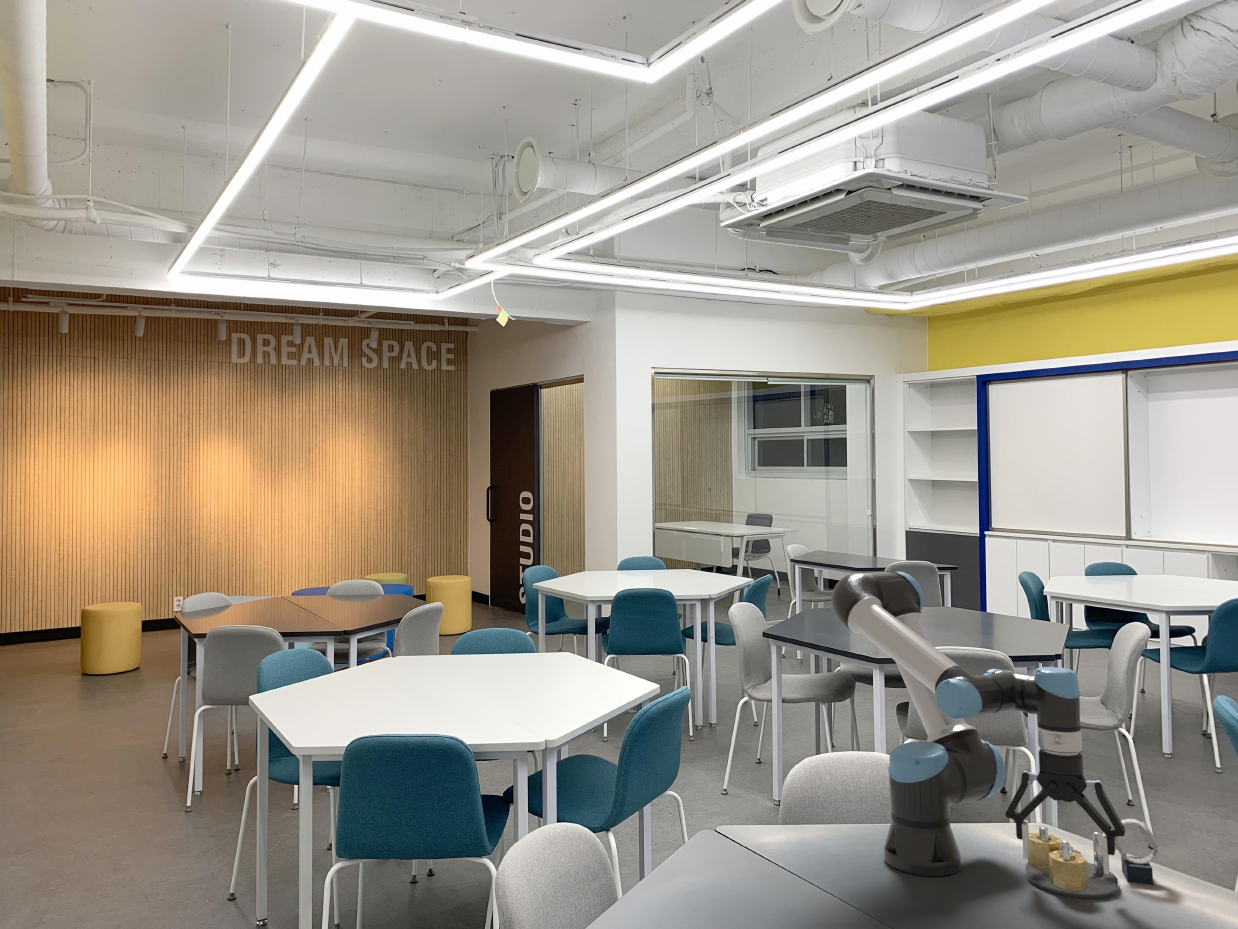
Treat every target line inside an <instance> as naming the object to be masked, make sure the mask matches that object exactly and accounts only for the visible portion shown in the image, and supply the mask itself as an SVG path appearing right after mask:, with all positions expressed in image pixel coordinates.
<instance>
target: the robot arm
mask: <svg viewBox="0 0 1238 929" xmlns="http://www.w3.org/2000/svg"><path fill="white" fill-rule="evenodd" d="M923 601H924V592H923V590H922V588H921V585H920V583H918V581H917V580H916V579H915V578H914V577H913V576H912V575H910V574H908V573H906V572H903V571H896V570H895V571H893V570H884V571H873V572H853V573H850V574H847V575H845V576H843V577H842V578H840V579H839V581H837V582H836V584H835V586H834V587H833V590H832V594H831V605H832V610H833V611H834V612H833V613H834V614H835V616H836V617H837V618H838V620H839V622H840V623H841V624H842V625H843V626H845V627H846V628H847V629H848V630H850V631H851V632H852V633H854V634H857V635H863V636H864V637H865V638H867V640H869V641H870V642H871V643H873V644H874V645H875V647H877V648H879V649H880V650H881V651H882V652H884V653H885V654H886V655H887V656H889V657H890V658H891V659H892V660H893V661H894V662H895V664H896V666H897V668H898V671H899V673H900V675H901V677H902V680H903V682H904V684H905V687H906V688H907V691H908V693H909V695H910V698H911V700H912V702H913V705H914V707H915V709H916V712H917V714H918V716H919V718H920V721H921V722H922V725H923V728H924V730H925V733H926V735H927V738H926V740H925V741H922V740H921V741H918V742H916V741H909V742H905V743H902V744H899V745H897V746H895V747H894V748H892V750H891V751H890V753H889V761H888V762H889V765H888V776H889V777H888V778H889V780H888V781H889V794H890V797H889V798H890V816H891V817H890V818H891V819H890V820H891V821H890V825H889V828H888V831H887V832H888V833H887V834H886V838H885V841H884V845H883V859H884V861H885V862H886V864H887V865H888V866H890V867H892V868H894V869H896V870H898V871H901V872H904V873H907V874H911V875H916V876H922V877H923V876H924V877H943V876H949V875H953V874H956V873H958V872H959V871H960V870H961V869H962V858H961V857H962V856H961V855H962V854H961V852H960V849H959V846H958V844H957V841H956V838H955V834H954V832H953V830H952V828H951V812H950V808H951V806H955V805H960V804H964V803H968V802H973V801H982V800H984V799H986V798H989V797H992V796H994V795H996V794H998V793H999V791H1000V790H1001V789H1002V787H1003V785H1004V780H1005V778H1006V768H1005V766H1006V765H1005V763H1004V759H1003V757H1002V754H1001V752H1000V751H999V750H998V748H997V747H996V746H995V745H994V744H991V742H989V741H987V740H984V739H982V738H981V737H980V734H979V732H978V730H977V728H976V727H975V726H972V725H970V724H967V723H966V721H965V719H972V718H974V717H979V716H984V715H985V716H986V715H991V714H999V713H1004V712H1005V713H1006V712H1011V711H1018V712H1023V713H1028V714H1032V715H1036V722H1037V725H1036V726H1037V744H1038V745H1037V746H1038V747H1039V748H1040V749H1039V750H1038V764H1039V765H1038V766H1039V767H1038V768H1039V772H1038V773H1035V772H1030V770H1028V769H1024V770H1023V771H1022V773H1021V779H1020V784H1019V786H1018V788H1017V790H1016V793H1015V795H1014V796H1013V798H1012V800H1011V802H1010V804H1009V806H1008V807H1007V809H1006V812H1004V816H1005V817H1006V818H1007V819H1012V821H1013V820H1014V822H1015V830H1016V831H1015V832H1016V833H1015V835H1016V839H1018V840H1022V856H1023V858H1022V859H1024V860H1028V857H1029V855H1030V852H1029V832H1030V831H1029V820H1025V819H1026V818H1027V817H1029V815H1030V814H1031V813H1033V811H1035V809H1036V808H1037V807H1039V805H1041V804H1042V802H1044V801H1045V800H1046V799H1047V798H1048V797H1049V798H1050V799H1052V801H1063V802H1065V803H1070V804H1071V803H1072V802H1076V804H1077V805H1078V806H1079V807H1081V808H1082V809H1083V810H1084V812H1086V813H1085V814H1087V815H1088V816H1089V818H1090V819H1091V820H1092V821H1093V822H1094V823H1095V825H1096V826H1098V827H1099V829H1100V830H1101V831H1102V832H1103V833H1102V834H1101V835H1102V847H1103V866H1104V874H1109V871H1110V857H1109V856H1114V855H1115V854H1116V846H1115V837H1117V838H1118V837H1124V836H1125V835H1126V834H1125V833H1126V827H1125V825H1124V826H1123V824H1122V822H1121V820H1122V819H1120V817H1119V815H1118V814H1117V812H1116V810H1115V808H1114V807H1113V805H1112V803H1111V801H1110V799H1109V797H1108V796H1107V794H1106V792H1105V787H1104V783H1103V780H1102V779H1098V778H1097V779H1096V780H1086V779H1085V776H1084V759H1083V754H1082V753H1081V751H1083V737H1082V736H1083V735H1082V728H1081V712H1080V711H1081V707H1080V706H1081V704H1080V702H1081V701H1080V700H1081V698H1080V697H1081V692H1080V686H1079V680H1078V679H1079V678H1078V675H1077V673H1076V672H1075V670H1072V669H1069V668H1065V667H1056V666H1043V667H1038V668H1036V669H1035V671H1034V675H1033V674H1028V673H1023V672H1018V671H1012V670H1010V669H1006V668H1004V669H999V668H991V669H988V670H986V672H985V673H984V674H981V675H972V674H971V673H970V672H968V671H967V670H966V669H964V668H962V666H960V665H958V664H957V663H956V662H954V661H953V660H952V659H951V658H949V657H948V656H947V655H945V654H944V653H943V652H942V651H940V650H939V649H938V648H936V647H934V645H932V644H931V643H930V642H928V639H927V638H926V635H925V633H924V631H923V629H922V627H921V622H922V620H923V617H924V616H923V614H922V610H923V608H924V602H923ZM1034 781H1037V783H1038V784H1039V785H1040V786H1041V788H1042V789H1041V790H1040V791H1039V792H1038V793H1037V794H1036V795H1035V796H1034V797H1033V798H1032V799H1031V800H1030V801H1029V803H1027V804H1026V805H1025V806H1024V807H1023V808H1022V809H1021V810H1020V811H1019V812H1017V811H1016V810H1017V807H1018V806H1019V804H1020V802H1021V800H1022V798H1023V796H1024V794H1025V792H1026V791H1027V789H1028V787H1029V785H1033V784H1034ZM1087 788H1088V789H1090V792H1091V793H1093V794H1095V796H1096V798H1097V800H1098V802H1099V803H1100V805H1101V808H1103V811H1104V812H1105V814H1106V816H1107V817H1108V820H1109V821H1110V823H1111V825H1112V826H1111V825H1110V823H1109V822H1108V821H1107V820H1106V818H1104V817H1103V816H1102V814H1101V813H1100V812H1099V810H1097V809H1096V807H1094V805H1093V804H1092V803H1091V802H1090V800H1089V799H1088V798H1087V796H1086V795H1085V794H1084V792H1085V790H1086V789H1087ZM1113 827H1114V828H1113Z"/></svg>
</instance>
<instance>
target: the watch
mask: <svg viewBox="0 0 1238 929" xmlns="http://www.w3.org/2000/svg"><path fill="white" fill-rule="evenodd" d="M1120 820H1121V822H1122V824H1123V826H1124V827H1125V826H1126V825H1129V824H1130V825H1137V827H1138V829H1139V830H1140V832H1141V834H1142V835H1143V837H1144V838H1145V840H1146V841H1147V843H1148V845H1150V847H1151V848H1152V851H1151V853H1150V854H1148V855H1147V856H1144V857H1142V856H1141V857H1140V856H1133V855H1131V856H1130V855H1127V852H1126V851H1124V849H1123V848H1122V847H1121V845H1120V842H1119V840H1118V836H1117V837H1115V848H1116V849H1117V851H1118V853H1119V854H1120V856H1121V857H1120V858H1121V872H1122V874H1123V875H1124V878H1125V879H1126V880H1125V881H1127V883H1132V884H1139V885H1149V886H1153V885H1154V875H1153V873H1154V872H1153V867H1152V866H1151V864H1150V863H1152V862H1153V861H1154V860H1155V859H1157V856H1158V855H1159V848H1161V846H1160V843H1159V841H1158V840H1157V838H1156V837H1155V836H1154V834H1153V833H1152V831H1151V830H1150V828H1149V827H1148V825H1147V823H1146V822H1144V821H1142V822H1141V821H1140V820H1138V819H1135V818H1124V819H1120ZM1112 828H1114V827H1113V826H1112Z"/></svg>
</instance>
